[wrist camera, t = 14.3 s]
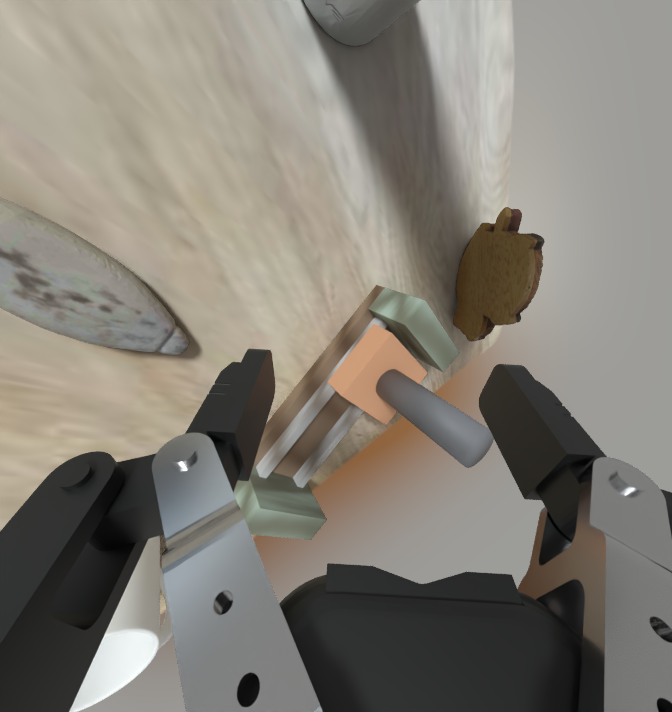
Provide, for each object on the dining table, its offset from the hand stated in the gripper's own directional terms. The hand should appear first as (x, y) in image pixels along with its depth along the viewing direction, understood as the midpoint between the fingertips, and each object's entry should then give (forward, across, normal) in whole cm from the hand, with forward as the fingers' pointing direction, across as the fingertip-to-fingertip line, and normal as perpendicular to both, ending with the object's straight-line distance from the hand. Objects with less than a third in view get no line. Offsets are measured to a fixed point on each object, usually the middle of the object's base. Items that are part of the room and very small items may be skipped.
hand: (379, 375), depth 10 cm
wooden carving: (+31, -15, +7) cm, 35 cm away
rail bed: (+17, +2, +19) cm, 25 cm away
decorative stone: (+10, +20, +2) cm, 22 cm away
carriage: (+17, -3, +14) cm, 23 cm away
